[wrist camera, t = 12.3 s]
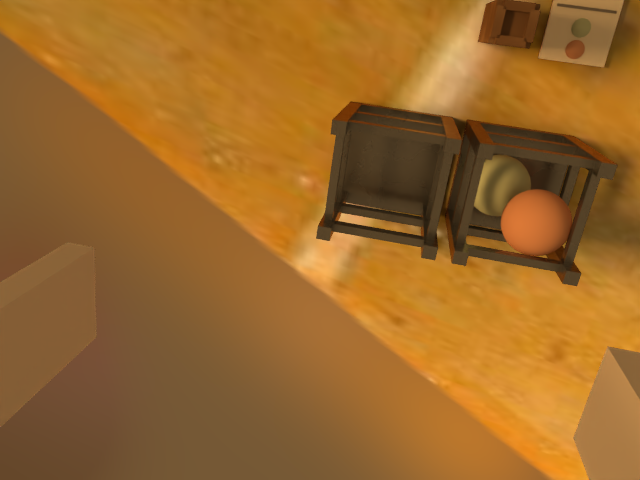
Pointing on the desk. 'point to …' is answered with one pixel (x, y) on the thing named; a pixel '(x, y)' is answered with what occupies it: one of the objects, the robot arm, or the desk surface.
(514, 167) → the ball sage
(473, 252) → the dark open frame crate
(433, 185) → the wireframe cube
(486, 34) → the peg stand
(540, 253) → the ball terracotta
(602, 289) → the desk surface
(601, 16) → the card
